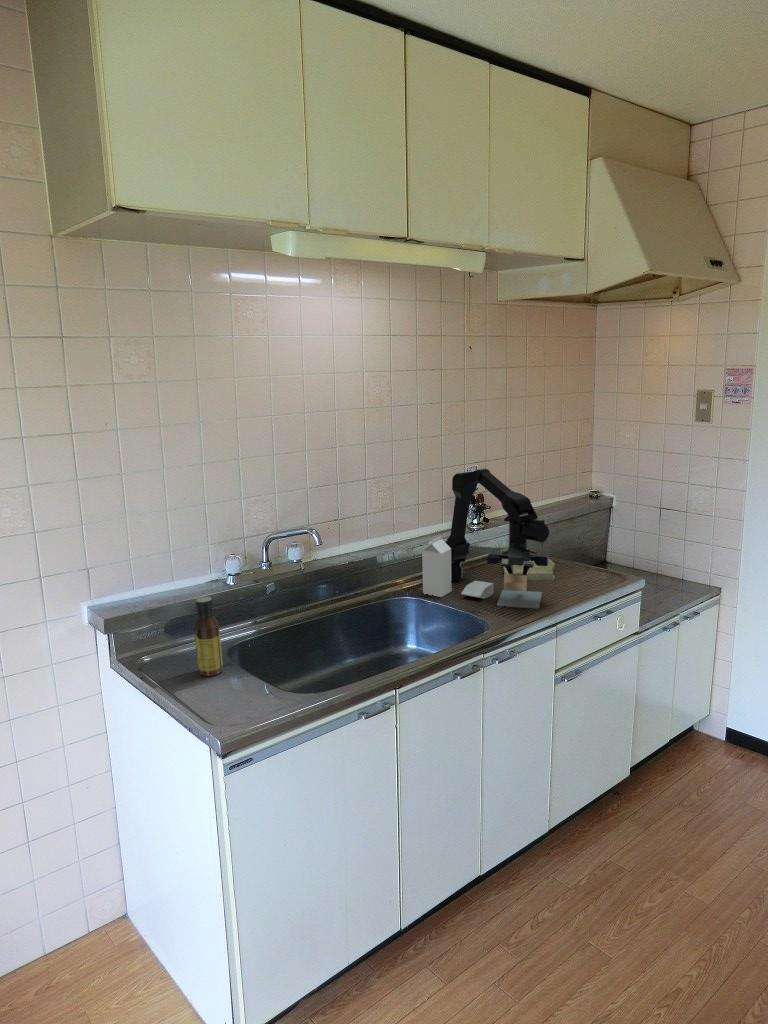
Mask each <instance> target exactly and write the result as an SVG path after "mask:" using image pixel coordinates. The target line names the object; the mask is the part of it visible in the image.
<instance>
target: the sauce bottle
mask: <svg viewBox="0 0 768 1024" xmlns="http://www.w3.org/2000/svg"><path fill="white" fill-rule="evenodd" d="M212 605H213V599H212V597H211V596H201V597H198V598H196V599H195V607H196V611H197V614H196V615H197V617H196V621H195V624H194V628H193V629H194V630H193V635H194V642H195V643H194V645H195V653H196V662H197V663H196V664H197V668H198V673H199V675H201V676H203V677H204V676H205V677H214V676H216V675H219V674H220V673H222V672H223V670H224V669H223V665H224V662H223V651H222V645H221V644H222V642H221V632H220V626H219V622H218V620H217V618H216V617H215V616H214V612H213V606H212Z"/></svg>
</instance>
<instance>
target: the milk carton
mask: <svg viewBox="0 0 768 1024" xmlns="http://www.w3.org/2000/svg"><path fill="white" fill-rule="evenodd" d="M445 542H446V541H445V540H444V539H443V536H442V535H441V536H438V537H436V538H434V539H430V541H429V542H428V543H427V546H426V547H425V548H424V549H423V550H422V551H421V552H422V553H421V557H422V559H421V560H422V561H421V562H422V594H423V593H424V594H423V595H426V594H428V595H427V596H432V595H433V597H439V598H442V597H444V596H446V595H448V594H450V593H451V592H452V589H453V588H452V582H451V548H450V547H449V546H448V545H447V544H446V543H445Z"/></svg>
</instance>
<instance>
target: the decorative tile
mask: <svg viewBox="0 0 768 1024" xmlns="http://www.w3.org/2000/svg"><path fill="white" fill-rule="evenodd" d="M555 565H556V563H555V562H554V561H553V560H551V559H550V558H549V561H548V566H537V565H536V564H535V562H534V566H533V568H529V570H528V572H527V574H526V575H527V581H554V580H556V577H555V574H554V573H555ZM523 566H524V565H522V566H519V565H513V572H514V574H515V573H516V572H517V570H523ZM502 568H503V569H502V570H503V574H504V573H508V571H507V569H506V568H505V567H504V566H502ZM553 572H554V573H553Z"/></svg>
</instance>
